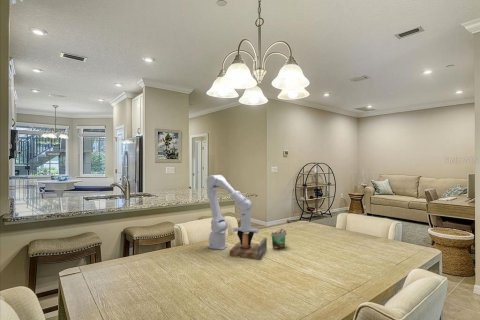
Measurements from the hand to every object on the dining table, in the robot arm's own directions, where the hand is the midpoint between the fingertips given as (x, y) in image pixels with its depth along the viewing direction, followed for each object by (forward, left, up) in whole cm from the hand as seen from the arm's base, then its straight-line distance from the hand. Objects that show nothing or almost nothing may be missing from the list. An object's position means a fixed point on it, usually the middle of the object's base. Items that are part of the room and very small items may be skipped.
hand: (245, 244), depth 152 cm
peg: (0, 0, -3) cm, 3 cm away
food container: (+18, +14, -5) cm, 23 cm away
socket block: (+2, 0, -4) cm, 5 cm away
